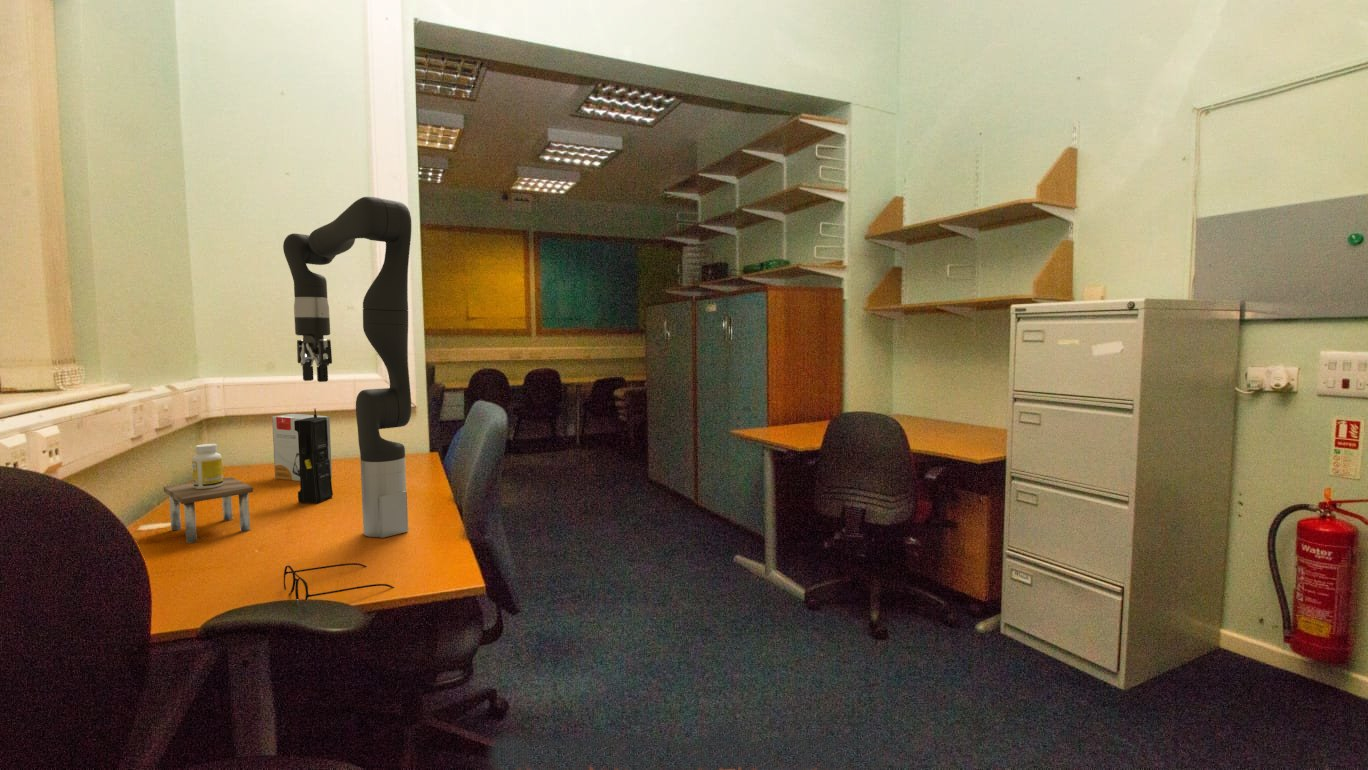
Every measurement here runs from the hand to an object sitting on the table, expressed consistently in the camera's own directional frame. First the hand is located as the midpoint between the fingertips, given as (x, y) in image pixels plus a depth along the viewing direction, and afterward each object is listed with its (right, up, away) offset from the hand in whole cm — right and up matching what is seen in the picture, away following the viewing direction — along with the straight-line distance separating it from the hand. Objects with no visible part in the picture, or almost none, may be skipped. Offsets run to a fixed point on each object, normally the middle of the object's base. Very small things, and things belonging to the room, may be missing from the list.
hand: (315, 381), depth 154 cm
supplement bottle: (-18, -25, -12) cm, 33 cm away
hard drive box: (-27, -31, +40) cm, 57 cm away
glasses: (+30, -38, -43) cm, 65 cm away
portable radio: (-8, -33, +14) cm, 37 cm away
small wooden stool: (-18, -35, -11) cm, 41 cm away
